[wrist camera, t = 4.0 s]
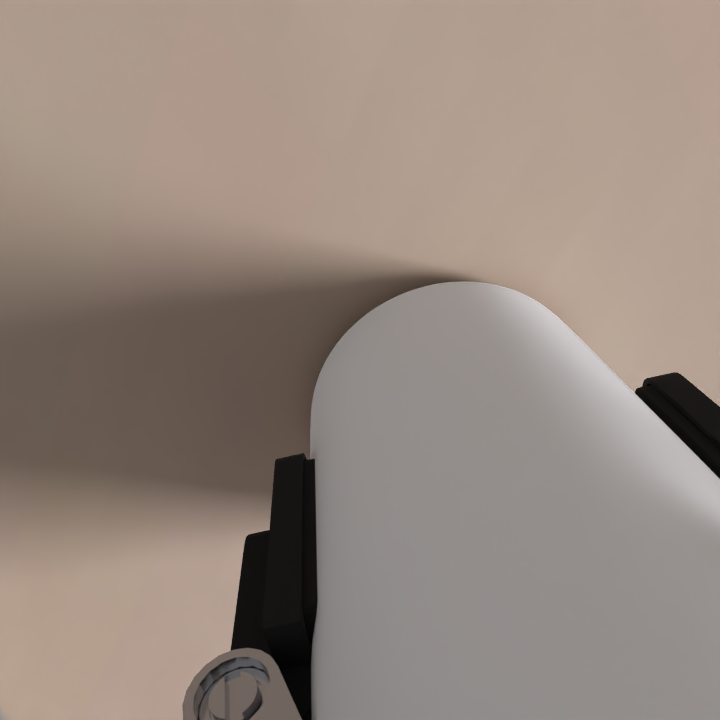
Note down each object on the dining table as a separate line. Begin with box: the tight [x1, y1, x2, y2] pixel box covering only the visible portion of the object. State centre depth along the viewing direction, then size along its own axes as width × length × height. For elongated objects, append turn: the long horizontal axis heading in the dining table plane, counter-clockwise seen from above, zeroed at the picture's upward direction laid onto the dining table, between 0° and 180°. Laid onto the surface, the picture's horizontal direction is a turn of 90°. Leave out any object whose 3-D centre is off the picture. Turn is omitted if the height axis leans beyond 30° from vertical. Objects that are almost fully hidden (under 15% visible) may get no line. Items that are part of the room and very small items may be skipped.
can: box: [310, 281, 720, 720], centre depth 9 cm, size 6×6×12 cm
